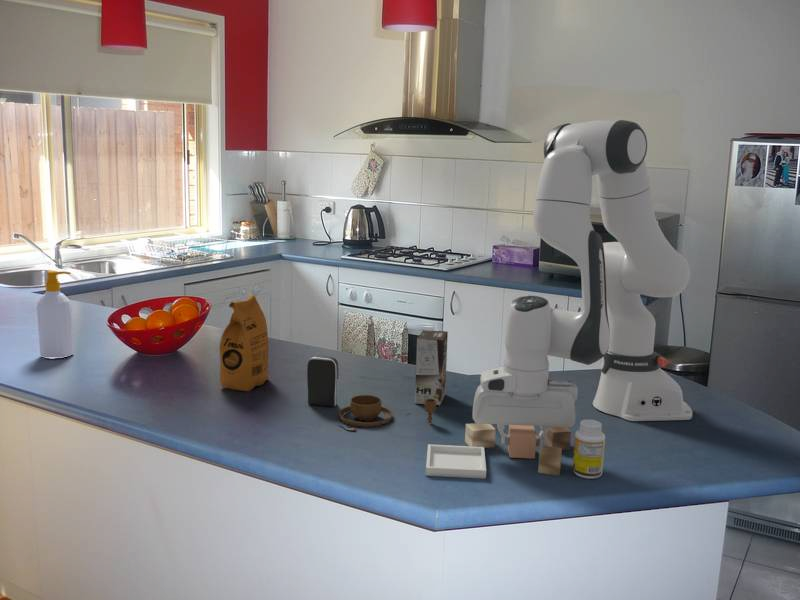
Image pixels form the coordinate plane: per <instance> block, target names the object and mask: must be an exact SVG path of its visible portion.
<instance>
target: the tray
mask: <svg viewBox="0 0 800 600" xmlns="http://www.w3.org/2000/svg"><path fill="white" fill-rule="evenodd" d="M426 451H427V452H426V463H425V464H426V465H425V476H428V477H429V476H430V477H447V478H466V479H467V478H468V479H469V478H470V479H483V480H484V479H487V463H486V456H485V455H486V454H485V453H486V452H485V448H484V447H471V446H469V445H468V446H467V445H466V446H465V445H451V444H449V445H447V444H429V443H428V444H427V450H426Z"/></svg>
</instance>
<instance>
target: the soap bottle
mask: <svg viewBox="0 0 800 600" xmlns="http://www.w3.org/2000/svg"><path fill="white" fill-rule="evenodd" d="M46 273H47V279H46V281H45V293H44V294H42V296H40V298H39V299H38V301H37V305H36V311H37V312H36V313H37V314H36V315H37V330H38V343H39V356H40V355H41V356H44V357H64V356H69V355H72V354H73V353H74V354H75V344H74V328H73V315H72V313H73V311H72V304H71V301H70V299H69V298H68V296H67V295H65V294H64V293H63V292H61V285H60V281H59V279H58V278H57V276H58V275H64V274H66V275H71V272H69V271H66V270H65V271H64V270H63V271H57V270H48V271H46ZM74 354H73V355H74ZM41 356H40V357H41Z"/></svg>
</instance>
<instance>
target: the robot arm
mask: <svg viewBox="0 0 800 600" xmlns="http://www.w3.org/2000/svg"><path fill="white" fill-rule="evenodd" d="M647 151H648V139H647V135H646V133H645V131H644V129H643V128H642V127H641V126H640V125H639V123H637V122H634V121H632V120H631V121H630V120H625V119H619V120H609V119H607V120H606V119H605V120H604V119H596V120H590V121H584V122H583V121H582V122H576V123H568V122H567V123H563V124H559V125H557V126H555V127H553V128H552V129H551V130H550V131H549V133H548V135H546V138H545V141H544V144H543V156H544V157H543V158H544V161H543V163H542V167H541V170H540V173H539V178H538V182H537V186H536V193H535V198H534V205H533V206H534V207H533V216H532V217H533V227H534V230H535V231H536V233H537V235H538V236H539V237H540V238H541V240H543V241H544V242H545V243H546V244H547V245H549V246H550V247H552V248H554V249H556V250H558V251H559V252H560V253H563V254H565V255H567V256H568V257H569V258H571V259H572V260H573V261H574V262H575V263H576V264H577V266H578V268H579V270H580V276H581V277H580V279H581V281H580V282H581V304H582V310H581V311H575V310H574V311H573V310H572V311H571V310H567V309H566V310H565V309H560V308H555V307H551V305H550V302H549V300H548V299H546V297H545V298H544V297H543V296H538V295H525V296H524V295H523V296H519V297H517V298H514V299H513V300H512V301H511V303H510V304H509V308H508V313H507V317H506V324H505V333H504V345H505V352H506V353H505V356H504V359H503V365H502V366H498V367H495V368H491V369H487V370H484V371H482V372H481V374H480V378H479V379H480V384H479V385H478V386H477V388H476V389H475V390H476V391H475V393H474V398H473V405H472V420H473V421H474V423H478V424H491V425H496V428H497V431H498V433H499V434H500V436H501V445H502V446H508V445H509V444H510V442H509V441H510V436H509V433H507V434H506V433H505V431H504V430H505V428H506V426H509V425H523V426H534V427H540V432H539V434H538V435H537V434H536V447H538V448H539V447H540V448H541V446H543V439H545V436H546V434H547V433H548V431H549V427H567V428H568V429H569V428H572V427H573V426H574V425H575V424H576V408H575V407H576V406H575V402H576V401H577V400H578V397H579V396H578V395H579V393H578V392H579V389H578V386H577V384H575V383H573V382H571V380H558V379H549V373H550V362H549V357H548V356H550V357H556V358H560V359H561V358H562V359H566V360H570V361H572V362H577V363H579V364H583V365H587V366H589V365H592V364H594V363H596V362H598V361H600V372H601V373H600V377H599V382H598V386H597V390H596V392H595V396H594V398H593V401H592V405H593V407H594V408H595V409H597V410H599V411H601V412H603V413H605V414H608V415H611V416H616V417H619V418H621V419H624V420H626V421H629V422H645V421H646V422H650V421H654V422H656V421H689V420H691V419H692V418H693V410H692V408H691V407H690V406H689V404H688V403H686V402H685V401H684V397H683V391H682V388H681V386H680V384H679V383H677V381H676V380H675V379H673V378H672V377H671V376H670V375H669V374H667V372H666V371H664V370H663V369H661V368H665V367H666V366H667V365H668V360H667V359H666V358H665V357H664V356H662V355H661V354H659V353H657V352H655V351H654V347H655V336H656V325H657V324H656V319H655V317H654V315H653V314H652V313H651V312H650V311H649V310H648V309H647V307H646V306H645V304H644V303H643V299H642V298H641V295H643V296H647V297H652V298H675V297H677V296H679V295H681V293H683V292H684V291H685V289H686V287H687V286H688V284H689V281H690V278H691V277H690V276H691V270H690V265H689V263H688V260H687V259H686V257H684V256H683V255H682V254H681V253H680V252H678V250H676V249H675V248H674V247H673V246H672V245H671V244H670V242H669V241H668V239H667V238H666V236H665V234H664V232H663V231H662V230H661V227H660V225H659V223H658V221H657V218H656V215H655V214H656V213H655V209H654V202H653V199H652V198H653V197H652V191H651V183H650V179H649V173H648V169H647V165H646V162H645V158H646V155H647ZM593 176H595V177H596V178H595V179H596V188H597V189H596V190H597V195H598V196H597V197H598V201H599V208H600V213H601V219H602V220H601V221H602V224H603V226H604V228H605V230H606V231H607V232H608V234H609V235H611V236H613V237H614V238H615V239H616V241H610V242H609V241H608V242H606V241H605V242H603V239H602V235H600V233H598V232H596V231H595V229H594V226H593V225H592V224H593V223H592V220H591V205H592V204H591V203H592V191H593V190H592V189H593V178H592V177H593Z"/></svg>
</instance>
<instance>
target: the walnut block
mask: <svg viewBox="0 0 800 600" xmlns="http://www.w3.org/2000/svg"><path fill="white" fill-rule="evenodd" d="M571 441H572V430H570V429H569V428H568V427H549V431H548V433H547V434H546V436H545V437H544V445H545V446H550V447H558V448H562V451H567V450H571V445H572V444H571V443H572V442H571Z"/></svg>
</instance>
